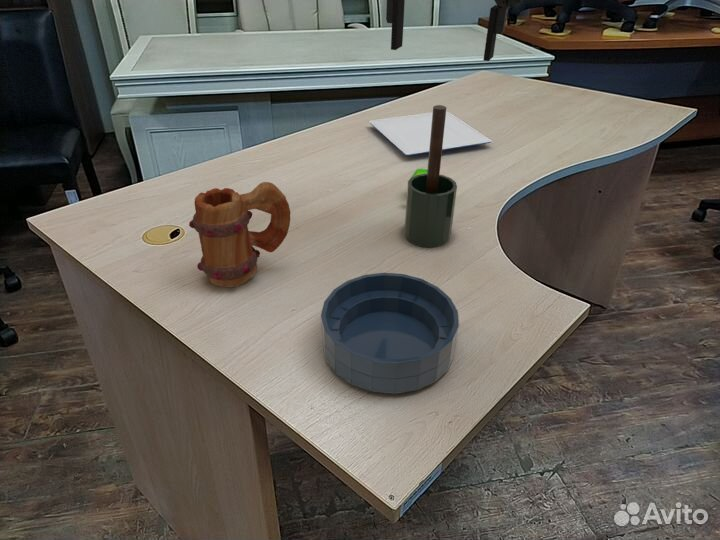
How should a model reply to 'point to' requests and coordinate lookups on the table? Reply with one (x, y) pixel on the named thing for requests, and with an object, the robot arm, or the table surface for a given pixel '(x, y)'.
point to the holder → (429, 212)
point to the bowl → (389, 332)
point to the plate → (427, 133)
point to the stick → (435, 148)
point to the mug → (237, 231)
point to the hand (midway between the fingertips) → (441, 53)
